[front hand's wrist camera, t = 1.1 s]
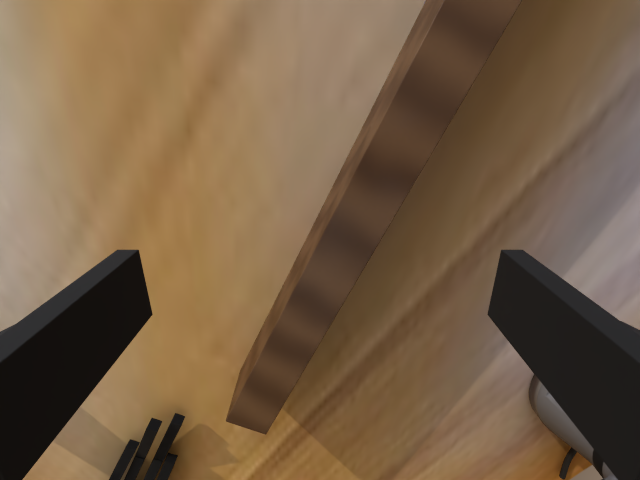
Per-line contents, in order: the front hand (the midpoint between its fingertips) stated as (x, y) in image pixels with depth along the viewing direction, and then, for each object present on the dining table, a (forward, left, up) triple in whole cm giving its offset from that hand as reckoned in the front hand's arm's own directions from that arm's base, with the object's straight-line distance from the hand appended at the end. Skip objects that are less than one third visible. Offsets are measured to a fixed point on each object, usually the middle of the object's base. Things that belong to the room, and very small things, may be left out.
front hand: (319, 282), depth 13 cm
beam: (+3, -9, -22) cm, 24 cm away
